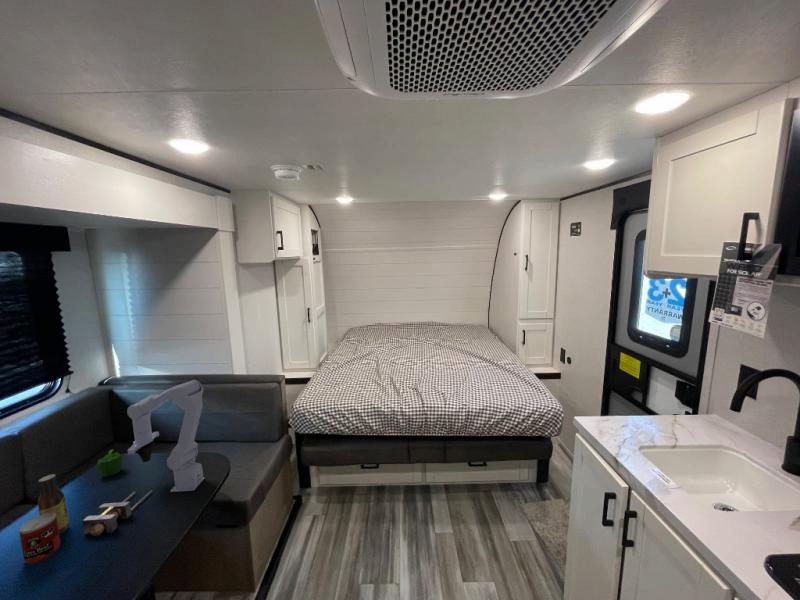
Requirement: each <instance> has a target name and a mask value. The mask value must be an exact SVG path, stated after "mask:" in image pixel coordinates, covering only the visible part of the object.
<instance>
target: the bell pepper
mask: <svg viewBox="0 0 800 600" xmlns="http://www.w3.org/2000/svg"><path fill="white" fill-rule="evenodd" d="M113 452H114V449H110V450H109V451H108V454H106V455H104V457H102V458H100V459H98V460H97V471H98V472H99V474H100V475H101V476H102V477H105V478H106V477H109V476H114V475H116V474H118V473H119V472H121V470H122V465H123V456H122V455H121V453H119V452H114V453H113Z"/></svg>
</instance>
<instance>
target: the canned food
mask: <svg viewBox="0 0 800 600" xmlns="http://www.w3.org/2000/svg"><path fill="white" fill-rule="evenodd" d="M19 538H20V543H21V544H20V545H21V550H22V556H23V561H24V563H25V564H26V565H33V564H37V563H40V562H42V561H44V560H46V559H48V558H49V557H51V556H52V555H53V554H55V553H56V552H58V550H59V549H60V546H61V537H60V534H59V530H58V523H57V517H56V514H55V513H52V512H51V513H46V514H42V515H37V516H35V517H34V518H32V519H30V520H28V521H26V522H25V523H24V524H23V525H21V526H20V527H19Z"/></svg>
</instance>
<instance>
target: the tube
mask: <svg viewBox="0 0 800 600" xmlns="http://www.w3.org/2000/svg"><path fill="white" fill-rule="evenodd" d="M111 514H116V519H117V520H118V519H119V517H120V518H121V512H120V509H112V510H111V511H110V513H109V514H108V515H111ZM105 530H106V524H105V522H96V523H95V526H93V527H92V528H91V530H90V533H91V534H90V535H91V536H94V537H99V536H100V535H101V534H102V533H103V532H104V531H105Z"/></svg>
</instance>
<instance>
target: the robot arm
mask: <svg viewBox="0 0 800 600" xmlns="http://www.w3.org/2000/svg"><path fill="white" fill-rule="evenodd" d="M203 393H204V386H203V385H202V383H201V382H200V381H198V380H196V379H192V380H190V381H186V382H184V383H180V384H177V385H175V386H172V387H170V388H168V389H166V390H165V391H163V392H161V393H159V394H156V393H155V394H154V393H153V394H152V393H151V394H149V395H147V396H146V398H144V399H140V400H138V402H137V403H134V404H131V405H129V406H128V408H127V409H126V413H127V416H128V417H129V418H130V419H131V420H132V428H133V436H134V441H133V442H132V443H133V444H132V445H131V447H129V448H128V449H127V454H128V455H135V454H138V455H139V457H140V458H141V461H142V463H148V462H149V461H151V457H152V452H153V449H154V446H155V444H156V442H155V441H154V439H155V438H158V437H159V436H160V432H159V431H152V429H153V428H152V423H151V416H152V412H153V411H154V410H157V409H159V408H161V407H162V405H163V403H164V402H165V401H167V400H170V401H172V402H173V403H174V404H175V405H177V406H178V407H179V408H180V409H181V410H183V411H184V416H183V420H182V425H181V428H180V432H179V438H178V441H177V444H176V445H175V447H174V448H173V449H172V451H171V452H170V454H169V456H168V457H167V458H166V465H167V467H168V468H169V469H170V470H171V471H173V478H174V486H173V487H172V488H171V489H170V493H176V492H190V491H191V492H192V491H195V490H196V489H197V487H198V486H199V485H200V484H201V483H202V482H203V481H204V479H205V477H204V472H203V465H202V464H201V462H200V463H199V462H196V457H197V456H198V455H199V450H198V446H199V444H198V443H197V442H196V441H195V439H196V435H197V430H198V426H199V422H200V419H201V414H202V410H203V407H204V406H203V397H202V396H203Z"/></svg>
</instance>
